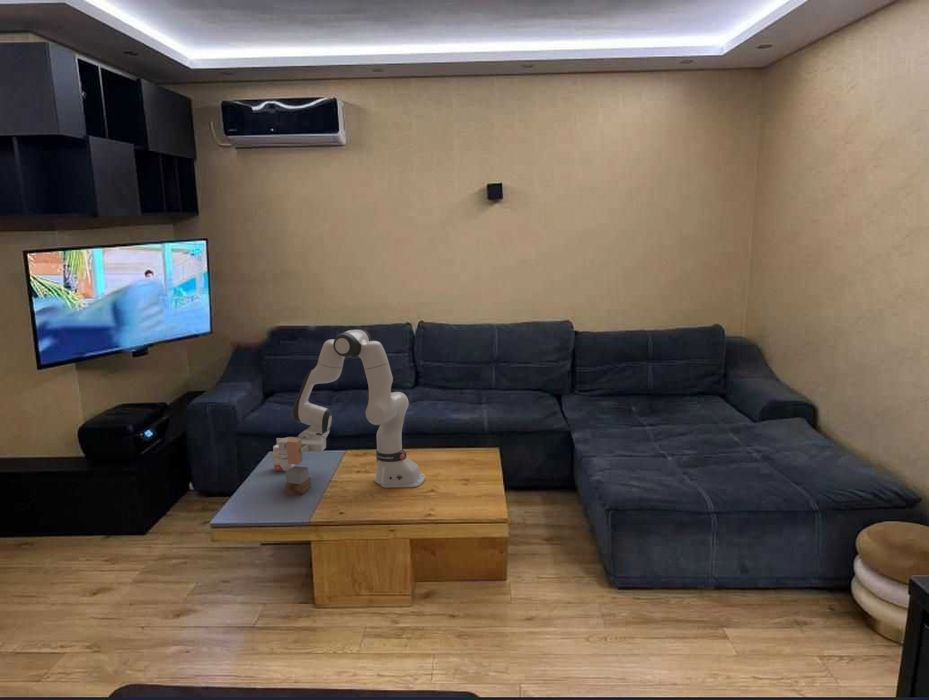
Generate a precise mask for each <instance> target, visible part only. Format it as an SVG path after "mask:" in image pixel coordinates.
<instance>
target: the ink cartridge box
mask: <svg viewBox="0 0 929 700" xmlns="http://www.w3.org/2000/svg"><path fill="white" fill-rule="evenodd" d="M284 438H285V437H277V438H276V440H275V441H276V444H275V445H273V447H272V450H273V451H272V454H273V466H274V467H273V468H274V471H277V472H278V471H282V472H286V471H288V470H289V469H290V468H292V467H293V466H296V464H288V455H287V452H286V450H283V449H279V446H278V442H279V441H280V440H282V439H284Z"/></svg>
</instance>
